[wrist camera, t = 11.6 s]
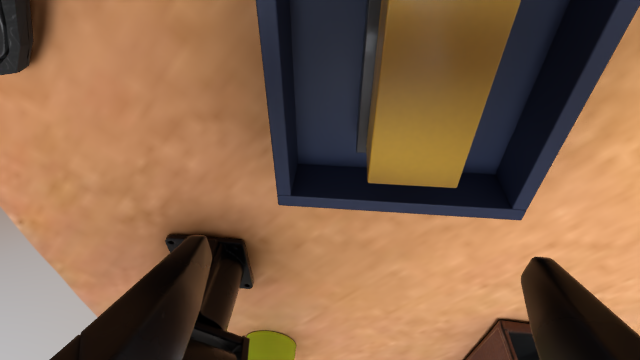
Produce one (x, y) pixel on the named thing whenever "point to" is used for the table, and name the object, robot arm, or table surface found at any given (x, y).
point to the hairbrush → (15, 35)
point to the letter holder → (507, 343)
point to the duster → (427, 85)
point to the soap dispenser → (270, 346)
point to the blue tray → (494, 126)
